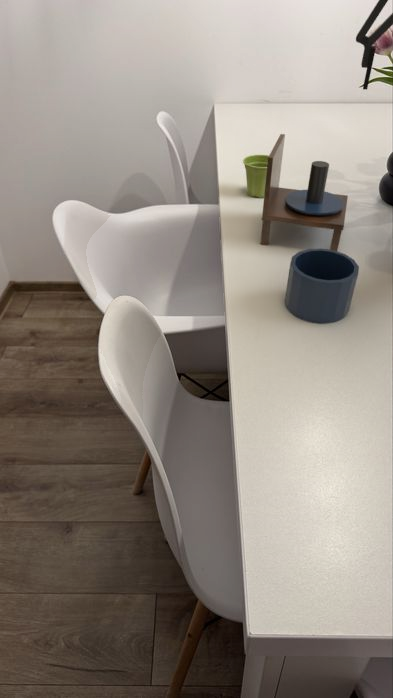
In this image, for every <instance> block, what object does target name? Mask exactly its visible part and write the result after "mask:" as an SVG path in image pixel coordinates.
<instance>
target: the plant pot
mask: <svg viewBox="0 0 393 698" xmlns="http://www.w3.org/2000/svg"><path fill="white" fill-rule="evenodd" d="M269 155H270V154H252V155H248V156H245V157H243V160H242V163H243V165H244V169H245V176H246V177H245V178H246V190H247V194H248V196H250V197H256V198H259V199H260V198H264V194H265V184H266V174H267V164H268V157H269Z"/></svg>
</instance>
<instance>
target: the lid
mask: <svg viewBox="0 0 393 698" xmlns="http://www.w3.org/2000/svg"><path fill="white" fill-rule="evenodd" d="M310 165H311V166H310V170H309V171H310V172H309V178H308V183H307V185H308V186H307V189H297V190H298V191H294V192H291V193H289V194H288V195H287V196H286V198H285V203H286V205H287V206H288V207H290V208H291V209H293V210H295V211H298V212H301V213H305V214H310V215H329V214H334V213H336V212H339V211H340V210H341V209H342V208H343V205H344V204H343V201H342V199H341V198H339V197H338V196H336V195H334V194H335V193H331V192H328V191H325V190H326V185H327V180H328V174H329V169H330V163H329V162H327V161H323V160H315V161H312V162H311V164H310Z"/></svg>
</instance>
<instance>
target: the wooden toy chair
mask: <svg viewBox="0 0 393 698" xmlns="http://www.w3.org/2000/svg"><path fill="white" fill-rule="evenodd" d="M285 138H286V134H285V133H280V134H279V136H278V138H277V140H276V142H275V144H274V146H273V148H272V150H270V153H269V154H268V155H269V157H268V164H267V174H266V184H265V194H264V197H263V205H262V215H261V220H262V226H261V234H260V235H261V236H260V245H264V246H268V245H269V243H270V234H271V226H272V225H271V224H272V222H275V223H283V224H290V225H297V226H305V227H312V228H313V227H314V228H321V229H327V230H333V231H332V236H331V242H330V246H329V250H334V251H337V252H338V251H339V250H338V249H339V245H340V241H341V235H342V232H343V231H344V228H345V227H344V226H345V220H346V213H347V205H348V199H349V198H348V197H349V195H347V194H337V193H333V194H334V195H336V196H338V197H339V198H341V199H342V201H343V204H344V205H343V208H342V209H341V210H340V211H339V212H336V213H334V214H329V215H310V214H305V213H301V212H298V211H295V210H293V209H291V208H290V207H288V206H287V205H286V203H285V198H286V196H287V195H288V194H289V193H291V192H294V191H298V190H299V189H295V188H285V187H280V180H281V179H280V178H281V172H282V164H283V163H282V162H283V157H284V156H283V155H284V147H285V146H284V145H285Z"/></svg>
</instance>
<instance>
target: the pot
mask: <svg viewBox="0 0 393 698" xmlns="http://www.w3.org/2000/svg"><path fill="white" fill-rule="evenodd" d="M359 271H360V266H359V265H358V263H357V262H356V261H355V259H353V258H352V257H351V256H349V255H348V254H346V253H343V252H340V251H338V250H337V251H334V250H330V248H329V249H328V248H323V247H321V248H308V249H304V250H301V251H297V252H296V253H295V254H293V256H291V259H290V263H289V269H288V276H287V282H286V283H287V284H286V289H285V295H284V306H285V307H286V309H287V310H288V312H289V313H290V314H292V315H293V316H294V317H296V318H298V319H300V320H303V321H306V322H309V323H313V324H332V323H337V322H339V321H341V320H342V319H344V318H345V317H346V316H347V315H348V313H349V312H350V308H351V304H352V300H353V295H354V292H355V289H356V284H357V280H358V276H359V273H360V272H359Z"/></svg>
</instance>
